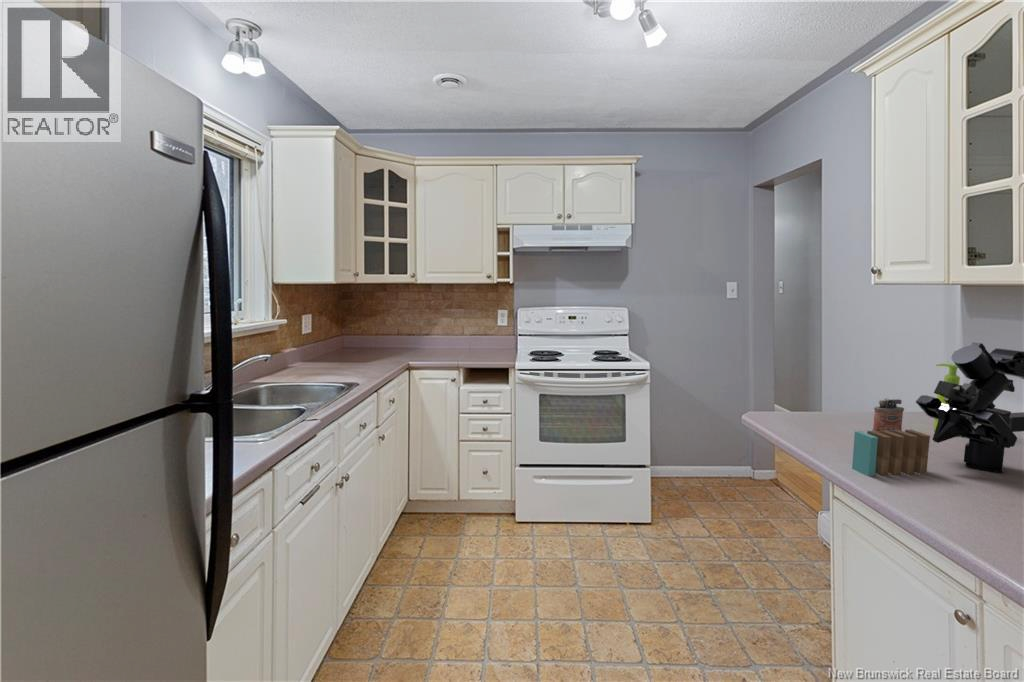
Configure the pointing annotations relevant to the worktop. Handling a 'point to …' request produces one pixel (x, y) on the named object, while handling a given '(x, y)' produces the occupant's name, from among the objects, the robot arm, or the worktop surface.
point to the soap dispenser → (948, 378)
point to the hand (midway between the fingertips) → (935, 441)
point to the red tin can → (888, 415)
